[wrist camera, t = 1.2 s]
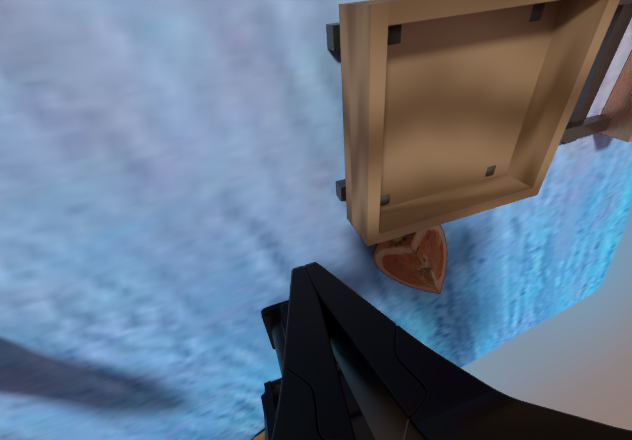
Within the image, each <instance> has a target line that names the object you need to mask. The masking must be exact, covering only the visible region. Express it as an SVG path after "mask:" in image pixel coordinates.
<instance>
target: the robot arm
mask: <svg viewBox="0 0 632 440" xmlns="http://www.w3.org/2000/svg"><path fill="white" fill-rule="evenodd" d="M261 315H262V319H263V321H264V324H265V327H266V330H267V333H268V336H269V339H270V342H271V345H272V348H273V349H276V353H277V357H278V362H279V366H280V370H281V375H282V378H280V379H277V380H274V381H272V382H271V381H269V382H266V383H264V386H265V393H264V394H263V395H262V396H261V399H262V405H263V411H264V419H265V440H632V431H631V430H626V429H622V428H617V427H613V426H609V425H606V424H602V423H599V422H595V421H592V420H588V419H585V418H581V417H578V416H574V415H570V414H567V413H563V412H560V411H556V410H553V409H549V408H546V407H542V406H538V405H535V404H531V403H528V402H524V401H521V400H518V399H515V398H513V397H510V396H508V395H505V394H503V393H501V392H499V391H497V390H496V389H494V388H492V387H490V386H489V385H487V384H485V383H484V382H482V381H480V380H479V379H477V378H476V377H474V376H472V375H471V374H469V373H468V372H466V371H464V370H463V369H461V368H460V367H458V366H456V365H455V364H453V363H452V362H450V361H448V360H447V359H445V358H444V357H442V356H440V355H439V354H437V353H436V352H434V351H433V350H431V349H430V348H428V347H427V346H425V345H424V344H422V343H421V342H420V341H418V340H417V339H415V338H414V337H413V336H411V335H410V334H409V333H407V332H406V331H405V330H404V329H402V328H401V327H400V326H398V325H397V326H396V323H394V322H393V321H392V320H390V319H389V318H388V317H387V316H385V315H384V314H383V313H381V312H380V311H379V310H378V309H376V308H375V307H374V306H372V305H371V304H370V303H368V302H367V301H366V300H365V299H363V298H362V297H361V296H359V295H358V294H357V293H356V292H354V291H353V290H352V289H350V288H349V287H348V286H347V285H345V284H344V283H343V282H341V281H340V280H339V279H337V278H336V277H335V276H334V275H332V274H331V273H330V272H328V271H327V270H326V269H325V268H323V267H322V266H321V265H319V264H318V263H317V262H313V263H310V264H307V265H305V266H300V267H297V268H294V269H292V275H291V285H290V296H289V301H286V302H283V303H280V304H277V305H274V306H271V307H268V308H265V309H263V310H262V311H261Z"/></svg>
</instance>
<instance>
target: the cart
mask: <svg viewBox="0 0 632 440" xmlns="http://www.w3.org/2000/svg"><path fill="white" fill-rule="evenodd" d="M619 1H620V0H369V1H361V2H354V3H346V4H339V19H340V46H341V72H342V99H343V125H344V152H345V178H346V205H347V219H348V220H349V222H350V223H351V225H352V226H353V227H354V229H355V230H356V232H357V233H358V234H359V236H360V237H361V239H362V240H363V241H364V243H365V244H366V246H367V247H368V246H371V245H375V244H378V243H381V242H384V241H388V240H391V239H394V238H397V237H401V236H404V235H407V234H410V233H414V232H417V231H420V230H424V229H427V228H430V227H433V226H437V225H440V224H443V223H446V222H450V221H453V220H456V219H459V218H463V217H466V216H469V215H473V214H476V213H479V212H482V211H486V210H489V209H492V208H495V207H499V206H502V205H505V204H509V203H512V202H515V201H518V200H522V199H525V198H528V197H531V196H535V195H538V192H539V190H540V187H541V185H542V183H543V180H544V178H545V176H546V173H547V171H548V169H549V166H550V164H551V162H552V159H553V157H554V154H555V152H556V150H557V147H558V145H559V143H560V140H561V138H562V136H563V133H564V131H565V129H566V126H567V124H568V121H569V119H570V117H571V114H572V112H573V110H574V107H575V105H576V103H577V100H578V98H579V96H580V93H581V91H582V88H583V86H584V84H585V81H586V79H587V77H588V74H589V72H590V70H591V67H592V65H593V63H594V60H595V58H596V55H597V53H598V51H599V48H600V46H601V44H602V41H603V39H604V37H605V34H606V32H607V29H608V27H609V25H610V22H611V20H612V18H613V15H614V13H615V11H616V8H617V6H618V4H619Z"/></svg>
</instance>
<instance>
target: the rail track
mask: <svg viewBox="0 0 632 440" xmlns="http://www.w3.org/2000/svg"><path fill="white" fill-rule="evenodd" d="M631 18H632V0H620V1H619V4H618V6H617V8H616V11H615V13H614V15H613V18H612V20H611V22H610V25H609V27H608V29H607V32H606V34H605V37H604V39H603V41H602V44H601V46H600V48H599V51H598V53H597V55H596V58H595V60H594V63H593V65H592V67H591V70H590V72H589V74H588V77H587V79H586V81H585V84H584V86H583V88H582V91H581V93H580V96H579V98H578V100H577V103H576V105H575V107H574V110H573V112H572V114H571V117H570V119H569V121H568V124H567V126H566V129H565V131H564V133H563V136H562V138H561V140H560V143H562V144H565V143H569V142H573V141H575V140H576V138H580V137H583V136H587V135H591V134H595V133H600V134H604V135H607V136H610V137H613V138H616V139H619V140H622V141H626V142H630V141H632V51H631V53H630V55H629V58H628V60H627V62H626V64H625V66H624V68H623V70H622V72H621V74H620V76H619V78H618V80H617V82H616V84H615V86H614V89H613V91H612V93H611V95H610V97H609V99H608V101H607V103H606V105H605V107H604V109H603V111H602V113H601V115H597V116H593V117H589V118H586V116H587V114H588V112H589V110H590V108H591V105H592V103H593V101H594V99H595V97H596V94H597V92H598V90H599V88H600V86H601V83H602V81H603V79H604V77H605V75H606V72H607V70H608V68H609V66H610V64H611V62H612V59H613V57H614V55H615V53H616V51H617V48H618V46H619V44H620V42H621V40H622V37H623V35H624V33H625V31H626V29H627V26H628V24H629V22H630V20H631ZM326 29H327V46H328V49H329V50H332V51H339V50H341V46H340V23H333V24H326ZM336 194H337V196H338V198H339V199H340V200H341V201H345V200H346V179H344V180H340V181H336Z"/></svg>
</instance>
